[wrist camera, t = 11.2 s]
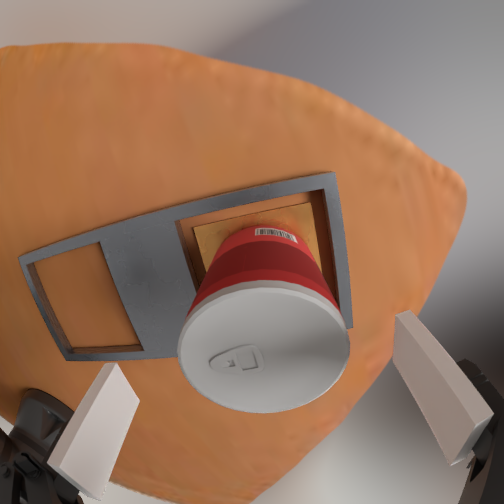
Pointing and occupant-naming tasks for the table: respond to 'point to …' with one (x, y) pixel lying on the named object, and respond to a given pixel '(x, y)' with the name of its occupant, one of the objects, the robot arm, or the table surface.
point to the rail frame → (186, 261)
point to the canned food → (263, 326)
